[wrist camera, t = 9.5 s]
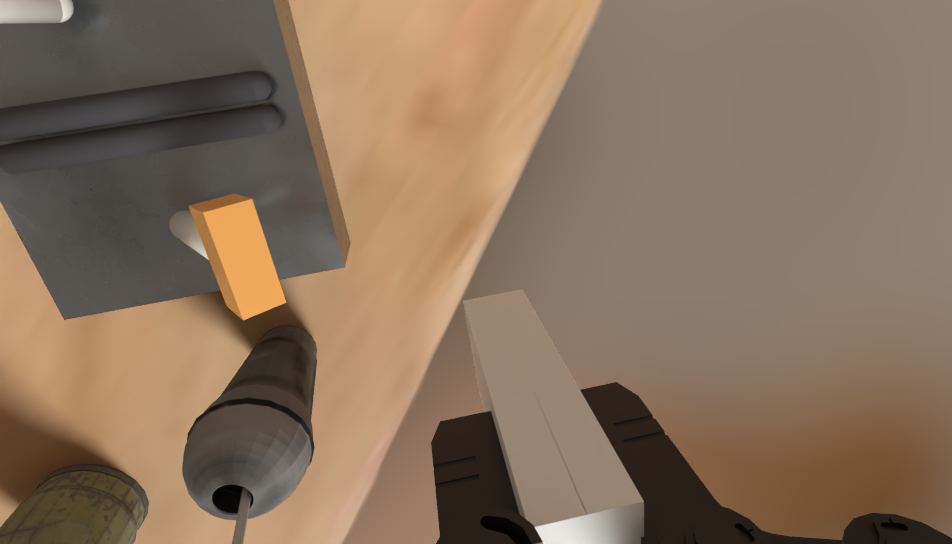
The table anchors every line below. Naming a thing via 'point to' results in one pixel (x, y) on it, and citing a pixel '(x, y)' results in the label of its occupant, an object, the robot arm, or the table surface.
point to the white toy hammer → (35, 11)
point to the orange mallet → (233, 251)
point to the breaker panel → (165, 151)
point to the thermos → (79, 509)
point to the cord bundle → (130, 108)
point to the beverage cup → (255, 432)
